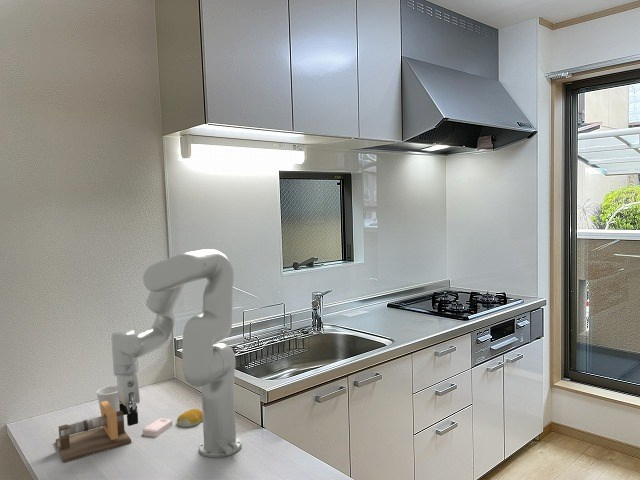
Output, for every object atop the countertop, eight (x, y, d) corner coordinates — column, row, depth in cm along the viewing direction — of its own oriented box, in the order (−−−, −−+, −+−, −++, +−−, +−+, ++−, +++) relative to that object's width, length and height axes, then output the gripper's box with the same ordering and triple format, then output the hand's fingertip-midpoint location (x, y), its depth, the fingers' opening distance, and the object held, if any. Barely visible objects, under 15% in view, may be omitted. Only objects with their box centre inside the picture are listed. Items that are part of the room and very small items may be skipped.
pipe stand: (131, 442, 155) (130, 419, 154) (63, 462, 144) (62, 437, 143) (118, 425, 168) (117, 403, 167) (55, 442, 157) (54, 418, 156)
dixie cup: (114, 423, 170) (112, 394, 169) (92, 421, 172) (90, 393, 171) (128, 413, 178) (126, 385, 177) (107, 411, 180) (106, 384, 179)
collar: (118, 438, 154) (116, 413, 153) (111, 440, 153) (109, 414, 152) (108, 424, 164) (106, 400, 164) (102, 425, 163) (100, 402, 163)
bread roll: (208, 418, 172) (207, 406, 172) (193, 429, 164) (193, 417, 163) (187, 415, 175) (187, 404, 175) (172, 426, 166) (171, 414, 166)
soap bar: (142, 436, 160) (141, 428, 160) (159, 424, 169) (159, 417, 169) (156, 438, 158) (155, 430, 158) (173, 426, 167) (172, 418, 167)
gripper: (145, 372, 156) (148, 425, 157) (130, 359, 170) (133, 408, 171) (120, 377, 152) (123, 432, 153) (107, 364, 166) (110, 413, 167)
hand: (128, 419), depth 162 cm, fingers open, 9 cm apart
